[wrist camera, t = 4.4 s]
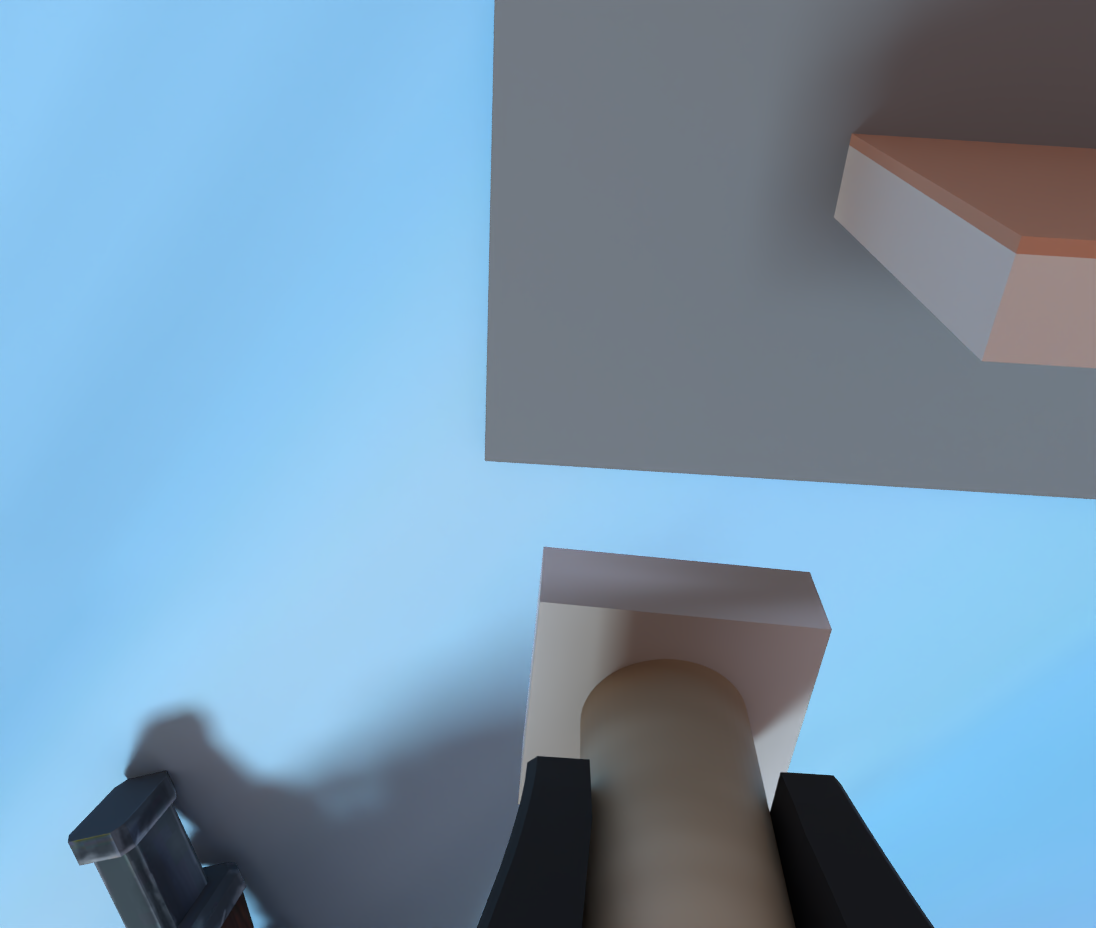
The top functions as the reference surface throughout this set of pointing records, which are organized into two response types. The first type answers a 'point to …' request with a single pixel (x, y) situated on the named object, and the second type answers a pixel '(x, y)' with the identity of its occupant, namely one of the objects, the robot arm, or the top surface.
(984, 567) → the top surface
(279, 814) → the top surface
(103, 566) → the top surface
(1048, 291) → the tile
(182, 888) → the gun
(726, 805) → the tamper
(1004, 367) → the mat
